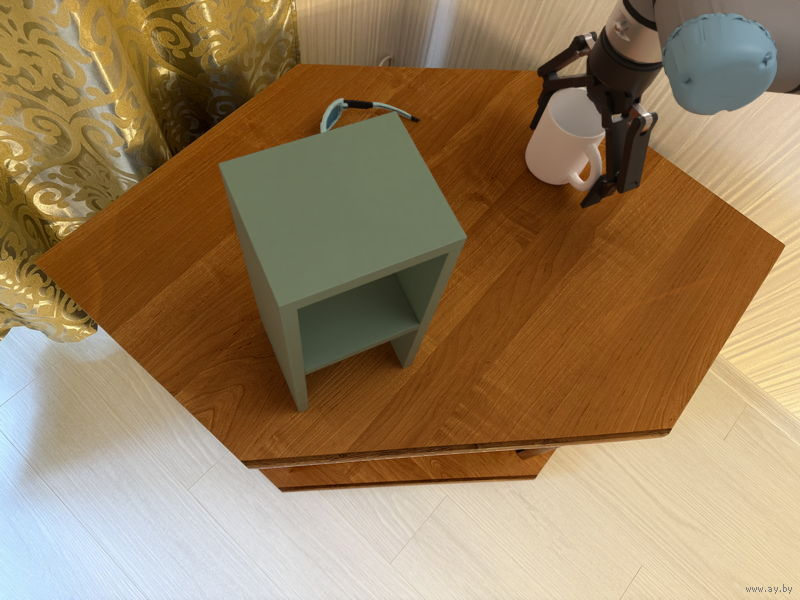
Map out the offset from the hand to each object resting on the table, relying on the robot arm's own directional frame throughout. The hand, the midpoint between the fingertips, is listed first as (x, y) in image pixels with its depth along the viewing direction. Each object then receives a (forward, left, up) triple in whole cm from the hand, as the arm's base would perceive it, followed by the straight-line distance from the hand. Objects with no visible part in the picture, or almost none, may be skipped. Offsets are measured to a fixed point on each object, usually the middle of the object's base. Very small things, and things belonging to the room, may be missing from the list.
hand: (563, 163), depth 81 cm
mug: (0, 0, -2) cm, 2 cm away
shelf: (-11, +38, -2) cm, 40 cm away
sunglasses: (+12, +23, -2) cm, 26 cm away
